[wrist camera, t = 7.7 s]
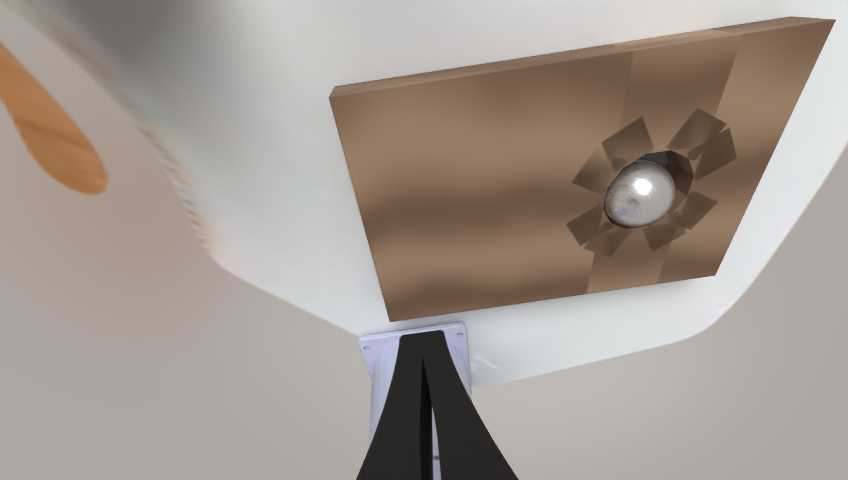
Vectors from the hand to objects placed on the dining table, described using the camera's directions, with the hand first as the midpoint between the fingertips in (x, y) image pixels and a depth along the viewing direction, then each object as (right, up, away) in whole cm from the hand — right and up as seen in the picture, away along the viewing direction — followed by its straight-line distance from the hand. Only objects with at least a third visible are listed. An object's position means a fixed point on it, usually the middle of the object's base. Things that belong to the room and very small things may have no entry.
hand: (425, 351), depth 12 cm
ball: (+11, +6, +7) cm, 15 cm away
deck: (+7, +7, +9) cm, 13 cm away
